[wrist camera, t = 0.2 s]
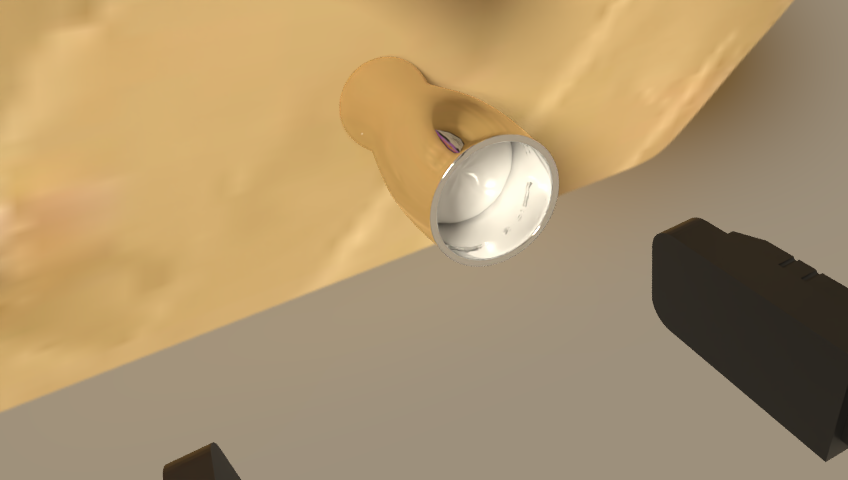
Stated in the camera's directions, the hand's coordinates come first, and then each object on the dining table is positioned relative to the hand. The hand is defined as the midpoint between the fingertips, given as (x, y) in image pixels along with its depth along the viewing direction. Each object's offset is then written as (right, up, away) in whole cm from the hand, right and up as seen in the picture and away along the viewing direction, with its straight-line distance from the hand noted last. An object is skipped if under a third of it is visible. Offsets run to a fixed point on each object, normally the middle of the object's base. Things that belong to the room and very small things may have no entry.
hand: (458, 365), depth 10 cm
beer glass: (-3, +11, +29) cm, 32 cm away
